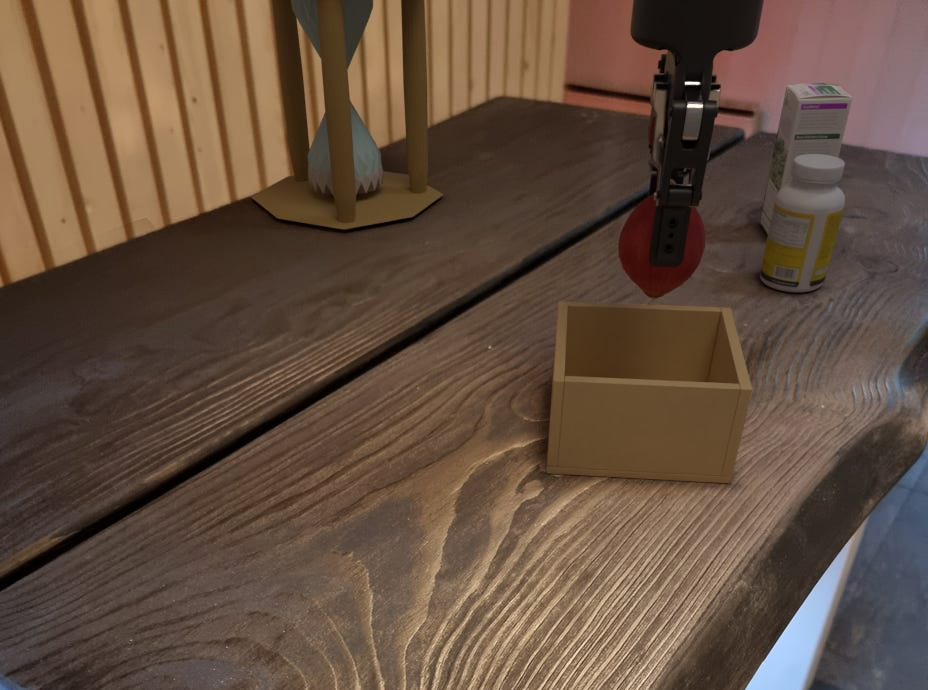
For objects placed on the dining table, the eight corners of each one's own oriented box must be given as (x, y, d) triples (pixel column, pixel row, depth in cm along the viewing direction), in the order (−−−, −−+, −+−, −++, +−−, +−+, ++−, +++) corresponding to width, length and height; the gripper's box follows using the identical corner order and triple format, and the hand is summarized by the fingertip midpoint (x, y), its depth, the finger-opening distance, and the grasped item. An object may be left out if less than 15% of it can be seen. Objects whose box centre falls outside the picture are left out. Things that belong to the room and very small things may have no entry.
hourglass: (476, 197, 116) (478, -49, 99) (343, 246, 104) (320, -25, 87) (350, 160, 128) (333, -65, 111) (218, 200, 116) (176, -45, 99)
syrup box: (820, 241, 104) (857, 95, 94) (767, 241, 104) (799, 95, 94) (806, 223, 108) (841, 82, 98) (756, 223, 108) (785, 82, 99)
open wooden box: (713, 395, 78) (730, 307, 73) (730, 483, 68) (752, 389, 63) (551, 387, 79) (558, 300, 74) (546, 473, 69) (552, 380, 64)
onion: (640, 275, 69) (655, 159, 64) (709, 294, 67) (731, 175, 61) (598, 300, 66) (610, 180, 61) (669, 321, 63) (689, 198, 58)
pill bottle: (822, 274, 97) (854, 153, 89) (823, 298, 93) (857, 173, 85) (758, 268, 98) (785, 148, 91) (756, 291, 94) (784, 168, 86)
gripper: (793, -37, 47) (728, 290, 58) (756, -70, 57) (707, 213, 69) (644, -38, 48) (608, 286, 59) (635, -70, 58) (606, 210, 70)
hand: (662, 245), depth 64 cm, fingers closed on onion, 6 cm apart
